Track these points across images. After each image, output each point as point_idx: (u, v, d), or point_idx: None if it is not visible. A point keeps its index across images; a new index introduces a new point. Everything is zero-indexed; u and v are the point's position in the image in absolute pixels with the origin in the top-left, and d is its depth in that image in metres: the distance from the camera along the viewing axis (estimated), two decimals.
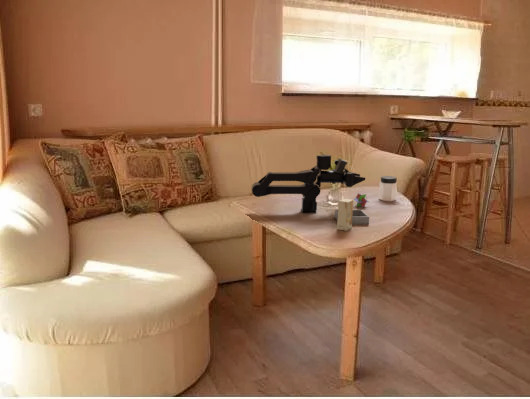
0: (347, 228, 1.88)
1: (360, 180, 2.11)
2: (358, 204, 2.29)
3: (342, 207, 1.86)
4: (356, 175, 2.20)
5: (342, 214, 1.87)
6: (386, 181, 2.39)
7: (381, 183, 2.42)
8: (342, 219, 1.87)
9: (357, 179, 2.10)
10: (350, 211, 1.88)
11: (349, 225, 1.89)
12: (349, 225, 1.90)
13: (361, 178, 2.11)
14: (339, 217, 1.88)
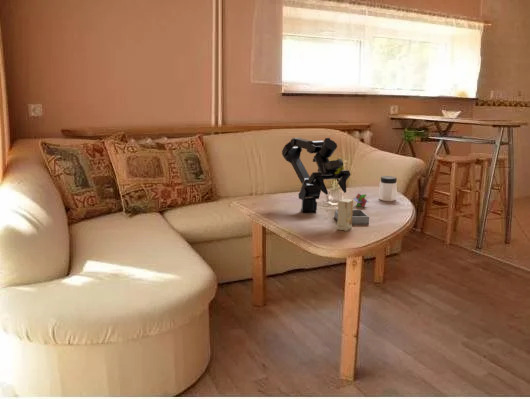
0: (347, 228, 1.88)
1: (322, 190, 1.94)
2: (358, 204, 2.29)
3: (342, 207, 1.87)
4: (343, 189, 1.97)
5: (342, 214, 1.87)
6: (386, 181, 2.39)
7: (381, 183, 2.42)
8: (342, 219, 1.87)
9: (321, 186, 1.94)
10: (350, 211, 1.88)
11: (349, 225, 1.89)
12: (349, 225, 1.90)
13: (324, 189, 1.93)
14: (339, 217, 1.88)
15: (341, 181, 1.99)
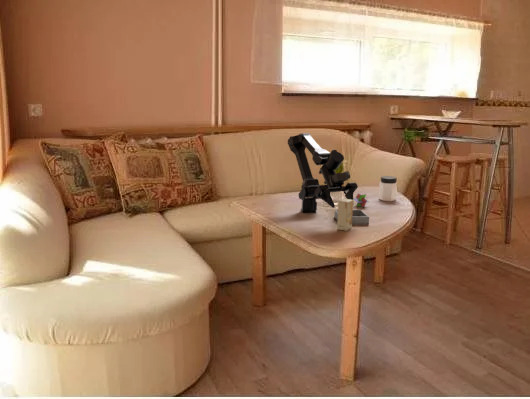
0: (347, 228, 1.88)
1: (329, 203, 1.90)
2: (358, 204, 2.29)
3: (342, 207, 1.87)
4: None
5: (342, 214, 1.87)
6: (386, 181, 2.39)
7: (381, 183, 2.42)
8: (342, 219, 1.87)
9: (328, 199, 1.90)
10: (350, 211, 1.88)
11: (349, 225, 1.89)
12: (349, 225, 1.90)
13: (331, 203, 1.89)
14: (339, 217, 1.88)
15: (348, 194, 1.95)
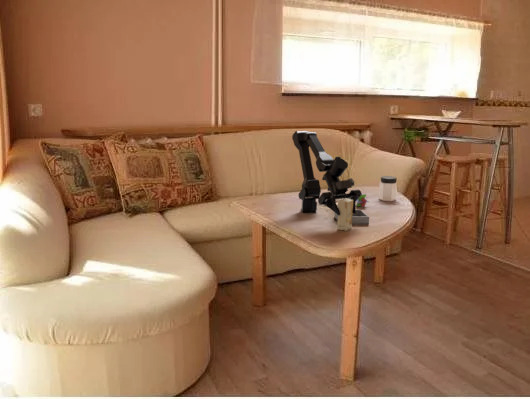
0: (347, 228, 1.88)
1: (334, 210, 1.88)
2: (358, 204, 2.29)
3: (342, 207, 1.86)
4: None
5: (342, 214, 1.87)
6: (386, 181, 2.39)
7: (381, 183, 2.42)
8: (342, 219, 1.87)
9: (333, 207, 1.88)
10: (350, 211, 1.88)
11: (349, 225, 1.89)
12: (349, 225, 1.90)
13: (336, 210, 1.87)
14: (339, 217, 1.88)
15: None
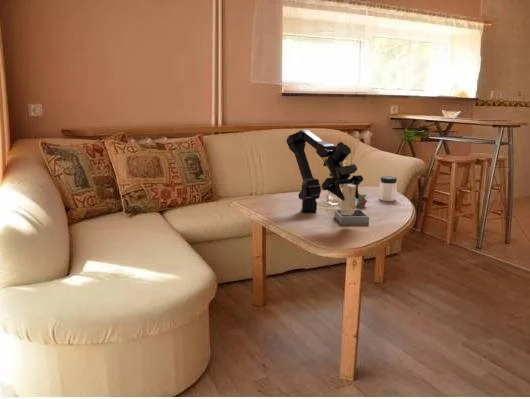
0: (351, 213, 1.90)
1: (338, 196, 1.89)
2: (358, 204, 2.29)
3: (346, 192, 1.88)
4: None
5: (346, 199, 1.89)
6: (386, 181, 2.39)
7: (381, 183, 2.42)
8: (346, 204, 1.89)
9: (337, 192, 1.89)
10: (353, 196, 1.90)
11: (352, 210, 1.91)
12: (352, 210, 1.91)
13: (340, 195, 1.89)
14: (343, 202, 1.89)
15: None
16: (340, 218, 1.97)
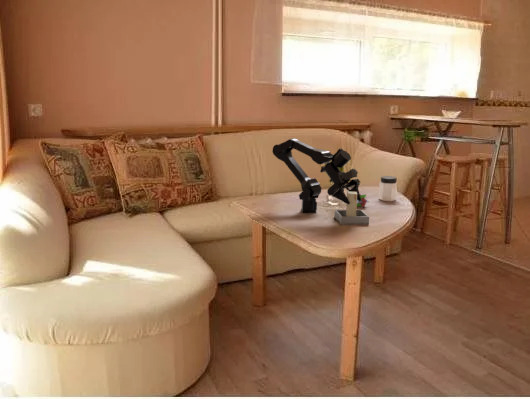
0: None
1: (343, 200, 1.97)
2: (358, 204, 2.29)
3: (351, 199, 1.98)
4: (357, 197, 2.04)
5: (351, 206, 1.98)
6: (386, 181, 2.39)
7: (381, 183, 2.42)
8: (351, 210, 1.99)
9: (342, 197, 1.97)
10: None
11: None
12: None
13: (346, 200, 1.96)
14: (348, 209, 1.99)
15: (353, 190, 2.05)
16: (340, 218, 1.97)
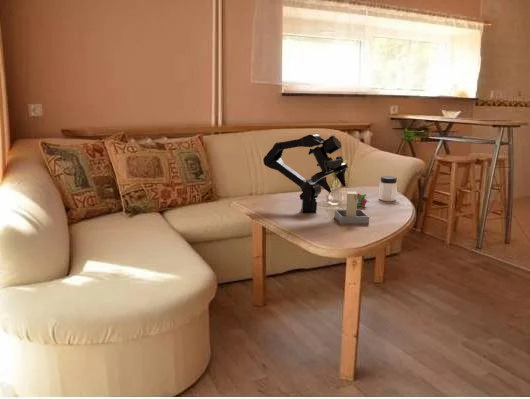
0: None
1: (325, 188, 2.05)
2: (358, 204, 2.29)
3: (351, 199, 1.98)
4: (342, 183, 2.10)
5: (351, 206, 1.98)
6: (386, 181, 2.39)
7: (381, 183, 2.42)
8: (351, 210, 1.99)
9: (324, 185, 2.05)
10: None
11: None
12: None
13: (327, 188, 2.04)
14: (348, 209, 1.99)
15: (340, 175, 2.10)
16: (340, 218, 1.97)
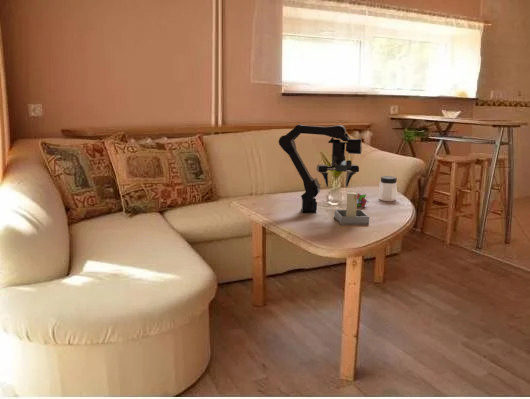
0: None
1: (325, 181, 2.11)
2: (358, 204, 2.29)
3: (351, 199, 1.98)
4: (346, 182, 2.12)
5: (351, 206, 1.98)
6: (386, 181, 2.39)
7: (381, 183, 2.42)
8: (351, 210, 1.99)
9: (324, 178, 2.10)
10: None
11: None
12: None
13: (325, 182, 2.10)
14: (348, 209, 1.99)
15: (348, 174, 2.11)
16: (340, 218, 1.97)
